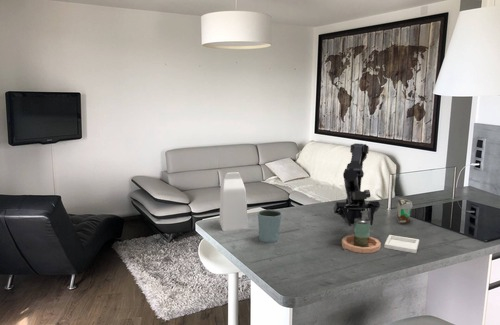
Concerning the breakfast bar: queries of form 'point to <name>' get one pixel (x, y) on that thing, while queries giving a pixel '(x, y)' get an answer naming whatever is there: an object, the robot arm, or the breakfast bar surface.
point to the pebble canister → (361, 232)
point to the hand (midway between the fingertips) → (360, 225)
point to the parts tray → (402, 243)
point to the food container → (403, 210)
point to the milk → (233, 203)
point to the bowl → (373, 247)
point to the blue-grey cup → (269, 225)
